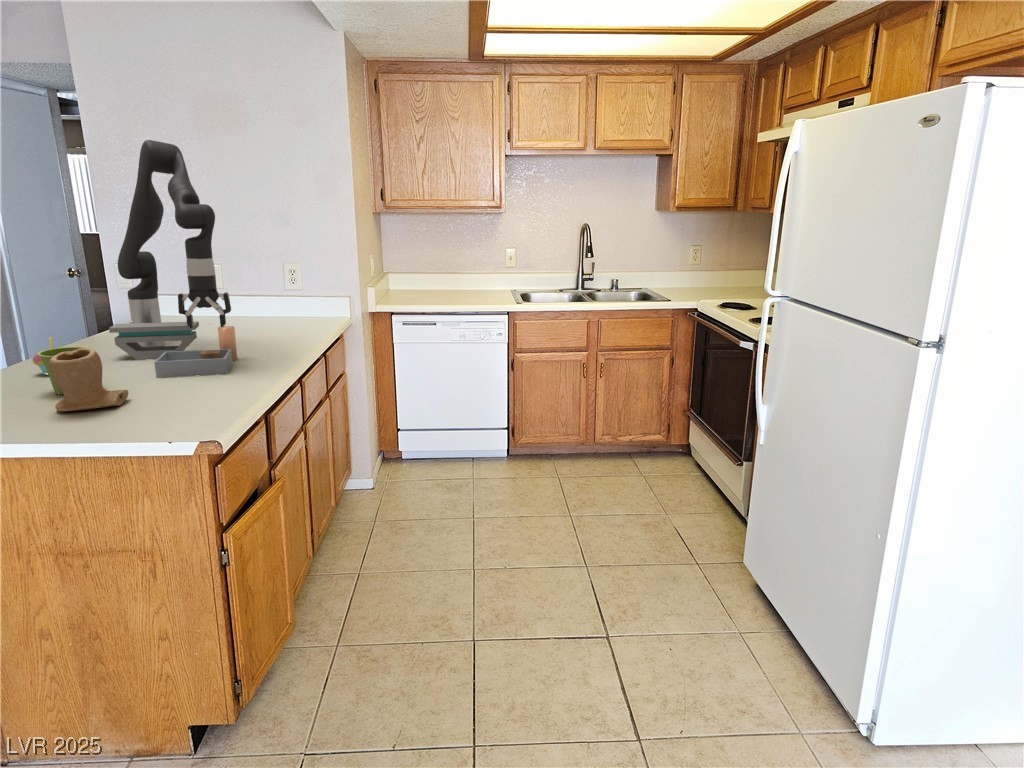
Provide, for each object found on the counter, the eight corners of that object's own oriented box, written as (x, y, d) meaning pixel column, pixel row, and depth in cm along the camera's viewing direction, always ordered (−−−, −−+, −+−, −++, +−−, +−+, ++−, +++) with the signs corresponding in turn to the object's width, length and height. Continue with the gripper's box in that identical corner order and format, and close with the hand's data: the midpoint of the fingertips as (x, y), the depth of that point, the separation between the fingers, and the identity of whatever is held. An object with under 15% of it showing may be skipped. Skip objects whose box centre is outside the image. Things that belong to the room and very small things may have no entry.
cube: (201, 369, 198) (200, 353, 197) (204, 366, 203) (202, 350, 201) (219, 369, 200) (217, 353, 198) (221, 365, 204) (220, 349, 203)
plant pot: (41, 400, 168) (33, 357, 165) (48, 388, 178) (41, 348, 175) (95, 394, 173) (88, 353, 170) (99, 384, 184) (92, 345, 181)
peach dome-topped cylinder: (220, 362, 210) (216, 328, 208) (222, 359, 215) (218, 326, 212) (236, 361, 212) (233, 328, 209) (238, 358, 216) (235, 325, 214)
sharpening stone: (202, 352, 224) (198, 321, 221) (197, 357, 217) (194, 325, 214) (121, 356, 218) (116, 323, 215) (113, 361, 211) (108, 328, 208)
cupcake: (76, 371, 196) (70, 332, 193) (49, 378, 189) (42, 337, 186) (56, 369, 199) (49, 330, 196) (28, 375, 191) (20, 335, 188)
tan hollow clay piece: (50, 418, 154) (38, 357, 150) (61, 405, 164) (51, 346, 160) (123, 412, 159) (114, 352, 155) (130, 399, 170) (121, 342, 166)
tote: (156, 377, 191) (154, 361, 190) (166, 366, 204) (164, 351, 203) (226, 374, 196) (225, 358, 195) (232, 363, 209) (231, 348, 208)
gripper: (228, 272, 199) (233, 324, 203) (177, 272, 195) (183, 325, 199) (225, 274, 192) (230, 328, 196) (172, 275, 188) (178, 330, 192)
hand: (207, 327), depth 198 cm, fingers open, 8 cm apart
